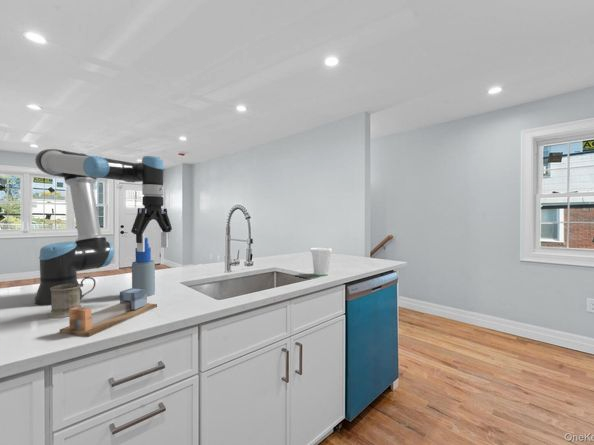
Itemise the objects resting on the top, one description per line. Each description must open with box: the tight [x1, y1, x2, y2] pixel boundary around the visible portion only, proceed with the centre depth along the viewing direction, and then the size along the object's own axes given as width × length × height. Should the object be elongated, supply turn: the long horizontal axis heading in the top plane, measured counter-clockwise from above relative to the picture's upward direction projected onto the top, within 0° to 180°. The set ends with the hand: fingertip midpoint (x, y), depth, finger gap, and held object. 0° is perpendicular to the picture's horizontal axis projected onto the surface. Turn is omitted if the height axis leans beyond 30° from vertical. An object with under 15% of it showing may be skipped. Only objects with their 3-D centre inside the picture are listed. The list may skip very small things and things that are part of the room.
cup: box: [310, 247, 333, 277], centre depth 172 cm, size 12×12×15 cm
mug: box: [47, 275, 96, 319], centre depth 106 cm, size 14×10×12 cm
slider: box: [119, 287, 145, 310], centre depth 107 cm, size 6×5×6 cm
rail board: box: [59, 294, 158, 337], centre depth 99 cm, size 11×28×7 cm, turn 166°
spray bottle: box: [131, 237, 156, 298], centre depth 128 cm, size 9×9×25 cm
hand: (153, 249), depth 117 cm, fingers open, 13 cm apart
